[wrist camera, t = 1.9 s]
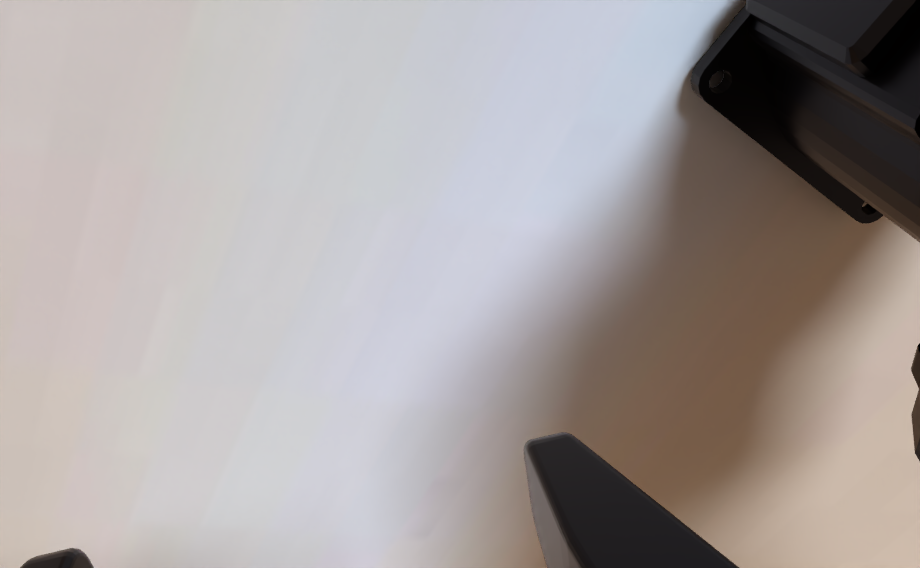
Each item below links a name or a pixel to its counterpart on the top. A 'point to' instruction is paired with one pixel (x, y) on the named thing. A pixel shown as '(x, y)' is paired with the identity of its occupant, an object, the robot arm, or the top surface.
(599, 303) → the top surface
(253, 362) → the top surface
